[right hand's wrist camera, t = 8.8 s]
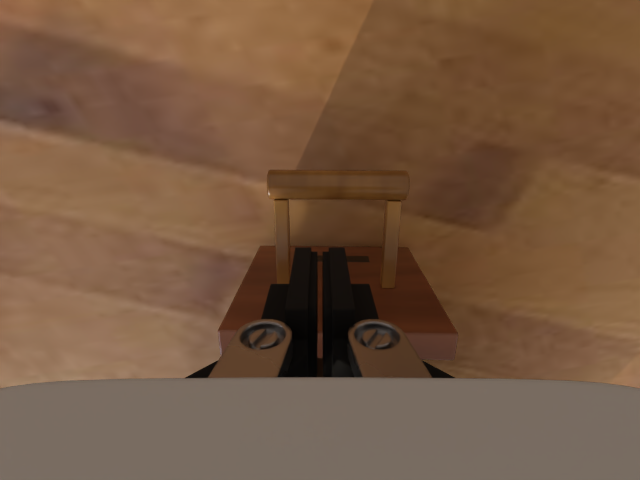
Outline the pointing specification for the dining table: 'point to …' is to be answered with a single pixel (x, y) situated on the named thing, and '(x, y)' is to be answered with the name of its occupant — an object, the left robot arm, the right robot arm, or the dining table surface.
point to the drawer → (348, 261)
